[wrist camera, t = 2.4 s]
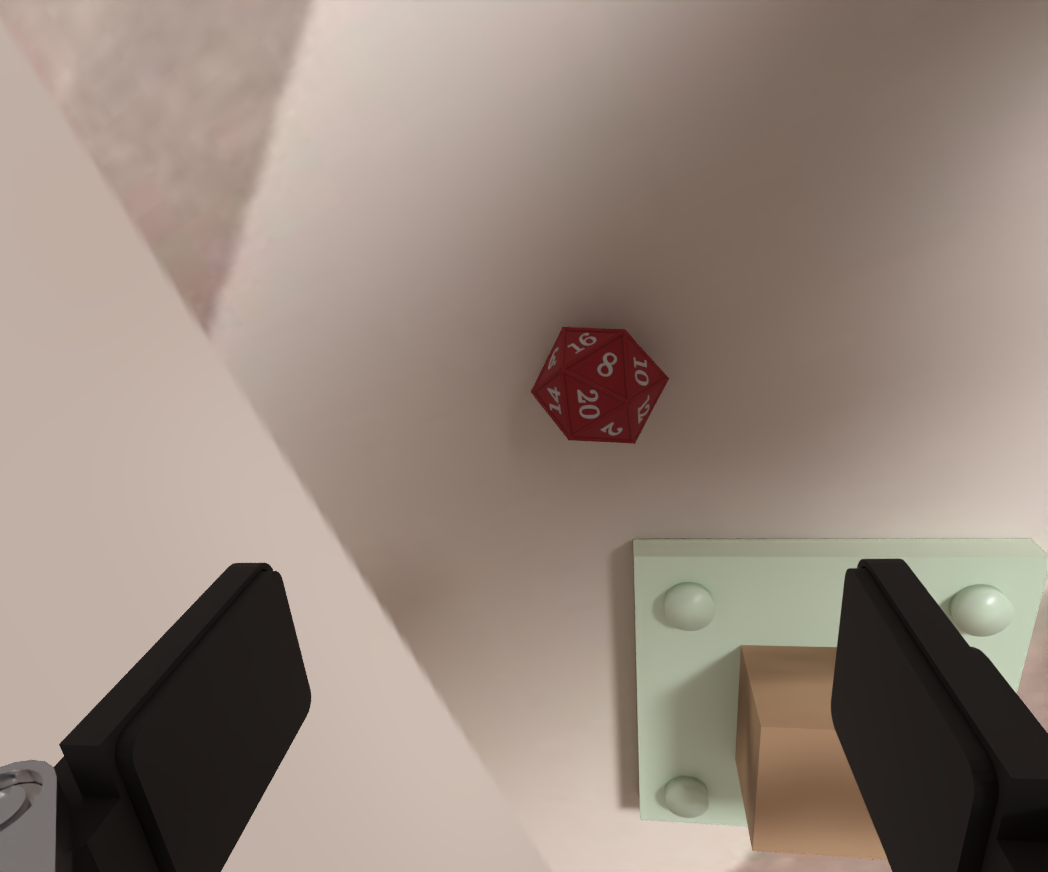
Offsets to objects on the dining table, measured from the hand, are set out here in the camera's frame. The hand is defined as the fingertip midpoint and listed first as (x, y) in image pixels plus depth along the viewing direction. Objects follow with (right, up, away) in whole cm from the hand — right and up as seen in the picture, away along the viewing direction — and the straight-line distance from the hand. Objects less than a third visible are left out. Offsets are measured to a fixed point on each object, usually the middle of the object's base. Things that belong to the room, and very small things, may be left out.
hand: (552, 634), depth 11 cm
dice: (+2, +6, +12) cm, 14 cm away
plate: (+11, -7, +16) cm, 21 cm away
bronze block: (+11, -7, +15) cm, 20 cm away
